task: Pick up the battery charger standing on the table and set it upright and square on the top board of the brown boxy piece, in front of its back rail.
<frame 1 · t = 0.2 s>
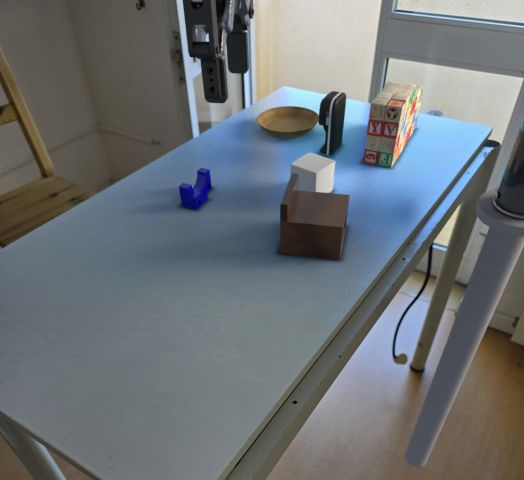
hand: (228, 86, 49), 30 cm above the table, tool pointing down, fingers open, 8 cm apart
plant saucer: (287, 130, 113), on the table
cable holder: (200, 198, 93), on the table
brown boxy piece: (314, 239, 82), on the table
white cube: (311, 192, 93), on the table
stack of blocks: (390, 145, 106), on the table
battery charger: (328, 150, 106), on the table
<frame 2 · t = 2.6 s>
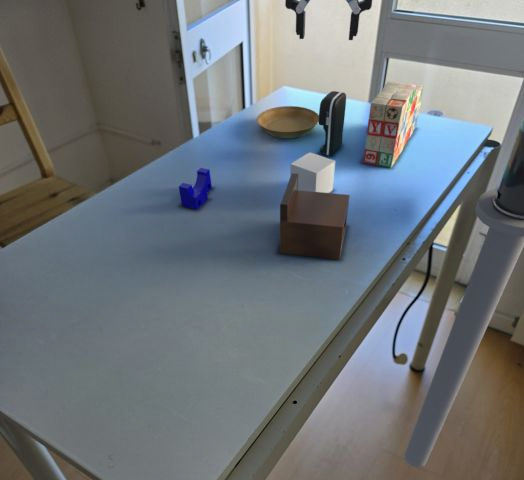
hand: (326, 38, 83), 23 cm above the table, tool pointing down, fingers open, 8 cm apart
nothing on the table moved.
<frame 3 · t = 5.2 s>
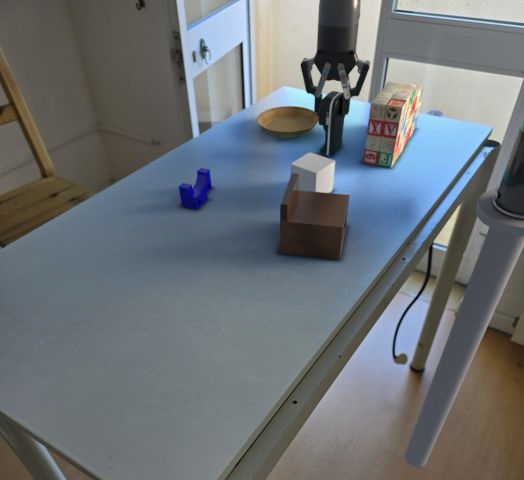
hand: (331, 115, 100), 7 cm above the table, tool pointing down, fingers closed on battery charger, 4 cm apart
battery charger: (328, 150, 106), on the table, touching gripper
everything else where it was.
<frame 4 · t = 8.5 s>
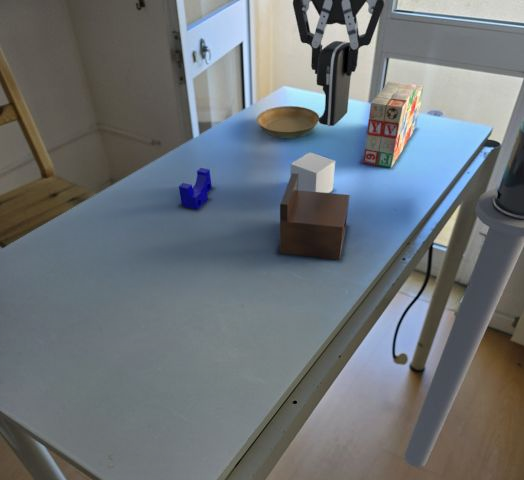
hand: (333, 72, 77), 21 cm above the table, tool pointing down, fingers closed on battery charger, 4 cm apart
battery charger: (330, 120, 83), point 14 cm above the table, touching gripper
everything else where it was.
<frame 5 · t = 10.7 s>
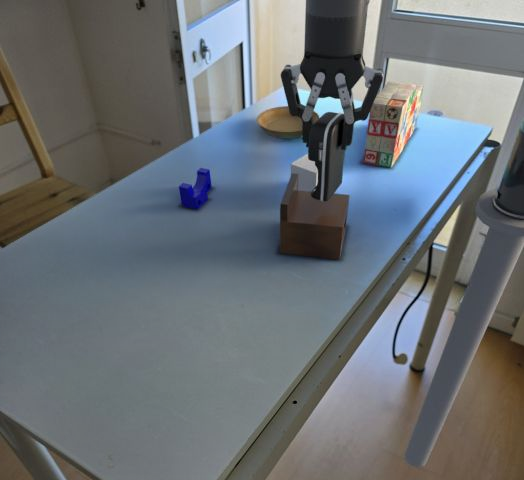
hand: (326, 145, 70), 16 cm above the table, tool pointing down, fingers closed on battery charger, 4 cm apart
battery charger: (323, 192, 75), point 9 cm above the table, touching gripper
everything else where it was.
when the fingers open (14 cm above the table, at t = 12.0 s): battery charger stays where it is, resting on brown boxy piece.
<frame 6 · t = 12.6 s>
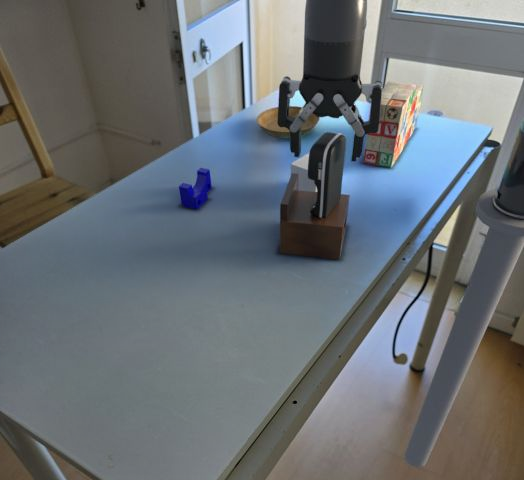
hand: (325, 157, 71), 15 cm above the table, tool pointing down, fingers open, 8 cm apart
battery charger: (322, 208, 78), point 6 cm above the table, touching brown boxy piece
everything else where it was.
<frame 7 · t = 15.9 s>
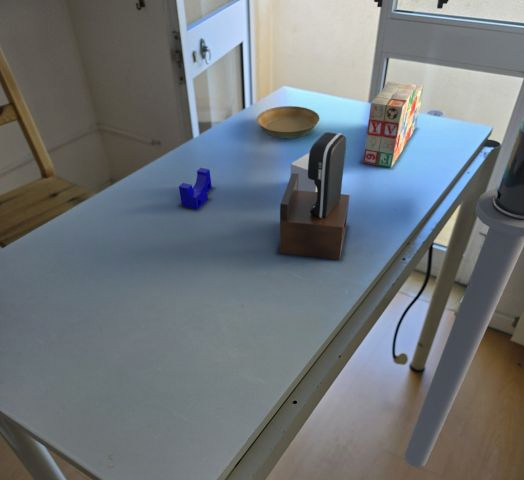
hand: (409, 6, 69), 30 cm above the table, tool pointing down, fingers open, 8 cm apart
nothing on the table moved.
at the end: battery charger inside the target area on the brown boxy piece (0.5 cm from its centre), point 6.0 cm above the brown boxy piece's base; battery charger tilted 0°; the gripper is holding nothing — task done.
